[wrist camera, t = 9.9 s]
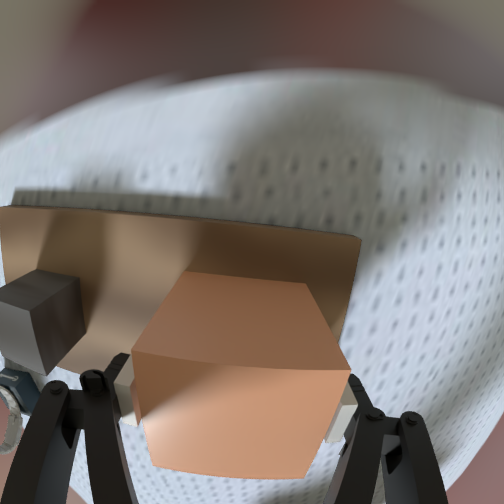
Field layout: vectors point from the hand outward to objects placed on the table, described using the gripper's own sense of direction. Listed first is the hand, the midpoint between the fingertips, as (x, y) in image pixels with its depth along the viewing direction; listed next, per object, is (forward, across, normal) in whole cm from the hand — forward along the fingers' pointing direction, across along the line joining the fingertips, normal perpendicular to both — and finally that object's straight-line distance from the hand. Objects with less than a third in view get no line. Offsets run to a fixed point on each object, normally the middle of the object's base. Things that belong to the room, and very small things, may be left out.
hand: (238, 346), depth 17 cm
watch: (+4, +25, +14) cm, 29 cm away
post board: (+3, +7, 0) cm, 8 cm away
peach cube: (+2, 0, 0) cm, 2 cm away
